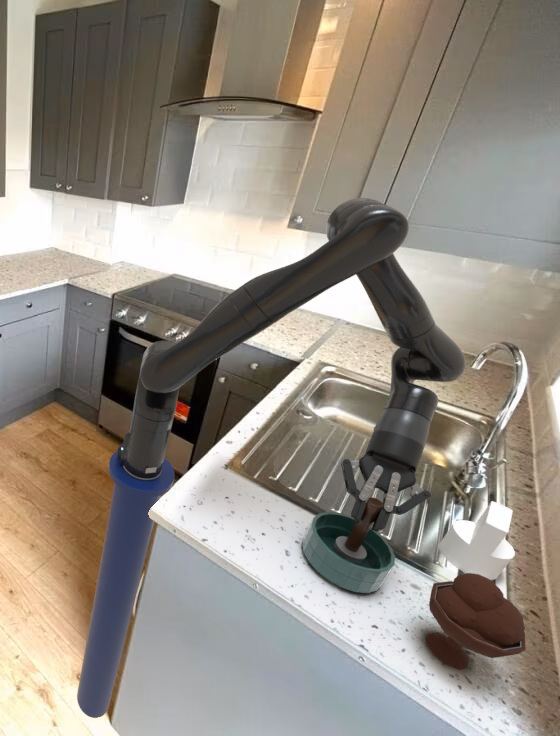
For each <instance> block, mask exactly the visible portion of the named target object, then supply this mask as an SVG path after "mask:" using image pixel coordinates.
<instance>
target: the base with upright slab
mask: <svg viewBox="0 0 560 736" xmlns="http://www.w3.org/2000/svg"><path fill="white" fill-rule="evenodd" d="M513 512H514V510H513V509H512V508H509V507H507V506H505V505H504V504H501V503H498V502H496V501H493V500H491V501H490V502H489V504H488V506H487V507H486V508H485V510H484V511H483V513H481V515H480V517H479V518H478V520H477V521H476V522H474V521H472V520H466V519H459V520H455V521H454V522H453V524H451V526H450V527H449V529H448V531H446V533H445V535H444V536H443V538H442V540H441V541H440V542H439V544H438V549H439V552H440V553H441V555H442V557H443V558H445V560H446V561H447V562H449V563H450V565H452V566H453V567H455V568H456V569H458V570H459V571H461V572H463V574H465V573H473V574H479V575H481V576H484V577H486V578H488V579H490V580H491V581H494V580H497V578H498V577H499V576H500V575H501V573H502V572H503V571H504V570H505V568H506V567H507V566H508V565H509V564H510V562H511V561H512V560H513V559H514V557H515V556H516V552H515V549H514V547H513V546H512V545H511V544H510V542H509V541H508V540H506V539H505V538H506V536H507V535H508V534H509V531H510V527H511V521H512V516H513Z"/></svg>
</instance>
